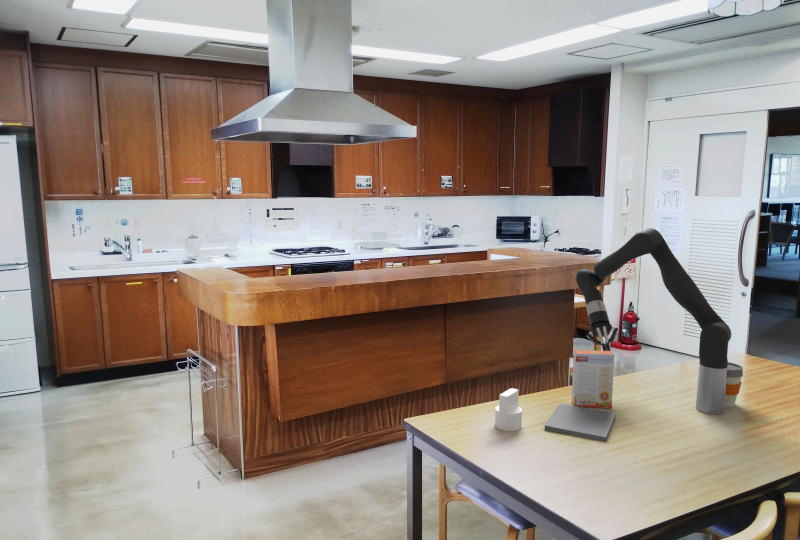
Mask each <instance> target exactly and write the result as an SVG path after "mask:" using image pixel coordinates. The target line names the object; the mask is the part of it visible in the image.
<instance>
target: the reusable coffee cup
mask: <svg viewBox="0 0 800 540" xmlns="http://www.w3.org/2000/svg"><path fill="white" fill-rule="evenodd" d="M743 376H744V367H743V366H742V365H739V364H737V363H734V362H730V361H728V367H727V378H726V395H725V406H724V408H734V407H735V404H736V401H737V395H739V394H740V390H741V385H742V381H741V380H742V378H743Z"/></svg>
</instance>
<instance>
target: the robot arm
mask: <svg viewBox="0 0 800 540" xmlns="http://www.w3.org/2000/svg"><path fill="white" fill-rule="evenodd" d="M649 254H650V256H651V257H652V259H654V260H655V262H656V264H657V266H658V267H659V270H660V275H661V279H662V282H663V285H664V287H665V288H666V289H667V292H668V293H669V294H670V295H671V297H672V298H673V299H674V301H676V303H677V304H678V305H680V306H681V307H682V308H683V309H684V310H685V311H687V312H688V313H689V314H690V315H691V316H692V317H693V318H694V320H695V321H696V323H697V324H698V326H699V327H700V329H701V331H700V335H699V343H698V344H699V345H698V357H699V364H698V365H699V366H698V377H697V378H698V379H697V389H696V398H695V399H696V400H695V408H696V410H698V411H699V412H702V413H705V414H709V415H724V414H725V407H724V406H725V395H726V378H727V367H728V362H729V360H728V350H729V349H728V348H729V342H730V340H731V339H732V330H731V328H730V326H729V325H728V324H727V323H726V322H725V321H724V320H723V319H722V318H721V316H720V315H719V314H718V313H717V312H716V311H715V309H714V308H712V306H711V305H710V303H709V302H708V300H707V299H706V297H705V296H704V294H703V292H702V291H701V290H700V289H699V286H698V285H697V284H696V283H695V281H694V279H692V278H691V277H692V276H690V275H689V274H688V273H687V271H686V270H685V268H684V267H683V266H682V265H681V263H680V262H679V260H678V259H677V257H676V256H675V254H673V252H672V249H670V246H669V245H668V243H667V241H666V240H665V238H664V236H663V235H662V234H661V233H660V231H659V230H657V229H656V228H651V227H650V228H649V227H648V228H645V229H643V230H640V231H637V232H635V234H634V235H632V236H631V238H630V239H628V241H627V242H625V244H624V245H622V246H621V247H620V248H619V249H617V250H615V251H614V252H612V253H611V254H609V255H607V256H606V257H604V258H603V259H601V260H600V261H598V262H596V263H595V265H594V266H593V270H589V269H585V268H584V269H580V270H579V271H577V272H576V276H575V280H576V285H577V286H578V287H577V288H578V289H579V291H580V293H581V294H582V296H583V298H584V302H585V305H586V312H587V317H588V320H589V325H590V331H589V332H588V333H586V337H587V338H588V339H589V340H590V341H592V342H593V343H594V344H595V345H597V346H601V349H602V351H611V350H612V349H611V347H610V344H612V343H614V340H615V338H616V336H617V335H618V333H619V328H618V327H613V326H612V324H611V323H610V318H609V315H608V311H607V308H606V305H605V303H604V300H603V299H604V298H603V295H602V292H601V290H600V289H598V288H597V287H599V286H601V285H602V283H604V282H605V280H606V279H607V278H608V277H609V276H611V275H613V274H614V273H615V272H617V271H619V270H620V269H621V268H623V266H625V265H626V264H627V263H629V262H631V261H632V260H634V259H637V258H639V257H643V256H644V255H649ZM610 334H611V335H610ZM594 336H595V337H594ZM609 336H610V337H609ZM597 338H599V339H597ZM611 352H612V351H611Z"/></svg>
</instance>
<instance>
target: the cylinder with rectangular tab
mask: <svg viewBox="0 0 800 540" xmlns="http://www.w3.org/2000/svg"><path fill="white" fill-rule="evenodd" d="M519 395H520V394H519V389H518V388H513V387H512V388H508V389H507V390H505V391H503V392H502V393H500V394H499V396H498V397H499V400H498V403H499V404H498V405H497V406H495V408H494V409H495V414H494V426H495V428H497V429H499V430H501V431H506V432H507V431H508V432H514V431H515V432H516V431H519V430H520V429H521V428H522V421H523V420H522V419H523V409H522V408H521V407H519Z"/></svg>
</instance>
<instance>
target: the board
mask: <svg viewBox="0 0 800 540" xmlns="http://www.w3.org/2000/svg"><path fill="white" fill-rule="evenodd" d="M616 418H617V412H612V411H606V410H601V409H594V408H591V407H578V406H574V405H573V404H572V405H571V404H567V403H561V402H560V403H559V404H558V406H557V407H556V408H555V410H554V412H553V413H551V415H550V417H549V418H548V420H547V421H546V423H545V424H544V431H551V432H555V433H559V434H564V433H565V434H566V435H570V436H576V437H580V438H581V437H582V438H585V439H591V440H596V441H601V442H607V440H608V438H607V437H609V434H610V433H609V432H611V430H612V428H613V425H614V422H615V420H616Z"/></svg>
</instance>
